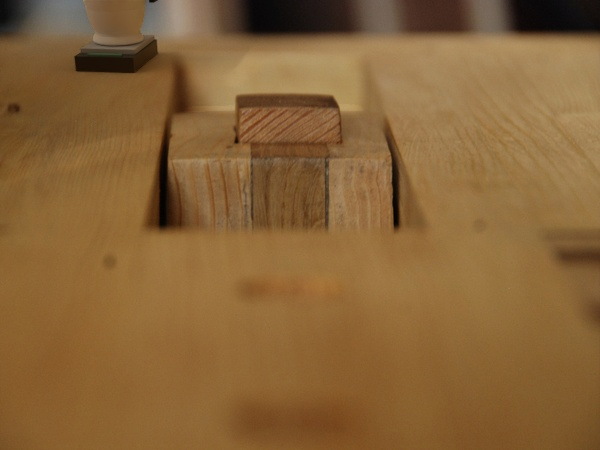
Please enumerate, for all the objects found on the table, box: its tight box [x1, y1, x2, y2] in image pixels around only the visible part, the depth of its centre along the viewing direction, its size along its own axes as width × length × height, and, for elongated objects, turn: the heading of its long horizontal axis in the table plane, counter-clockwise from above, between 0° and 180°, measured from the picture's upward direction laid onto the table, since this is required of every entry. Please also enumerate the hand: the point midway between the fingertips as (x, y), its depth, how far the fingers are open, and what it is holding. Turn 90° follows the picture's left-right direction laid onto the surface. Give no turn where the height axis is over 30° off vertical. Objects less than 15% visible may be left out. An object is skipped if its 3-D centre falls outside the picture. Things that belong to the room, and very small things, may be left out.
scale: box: [74, 34, 159, 74], centre depth 136 cm, size 10×14×3 cm
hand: (112, 0), depth 133 cm, fingers open, 13 cm apart
